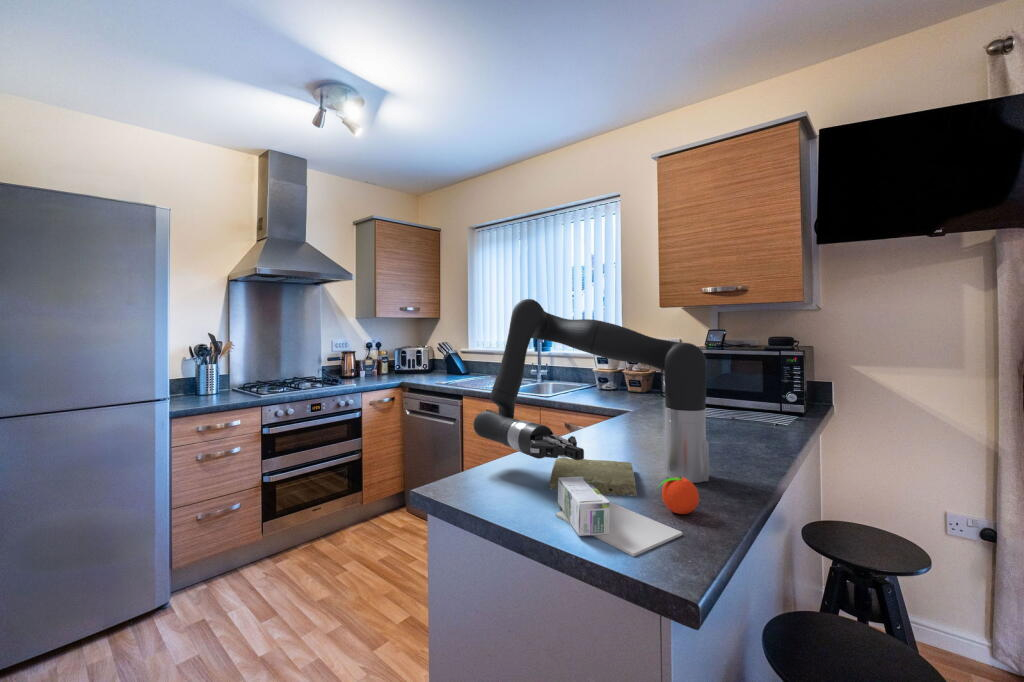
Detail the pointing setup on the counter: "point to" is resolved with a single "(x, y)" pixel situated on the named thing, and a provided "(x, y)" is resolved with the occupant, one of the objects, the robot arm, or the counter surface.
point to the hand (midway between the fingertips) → (581, 454)
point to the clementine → (680, 495)
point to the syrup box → (583, 506)
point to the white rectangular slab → (633, 531)
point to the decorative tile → (597, 474)
